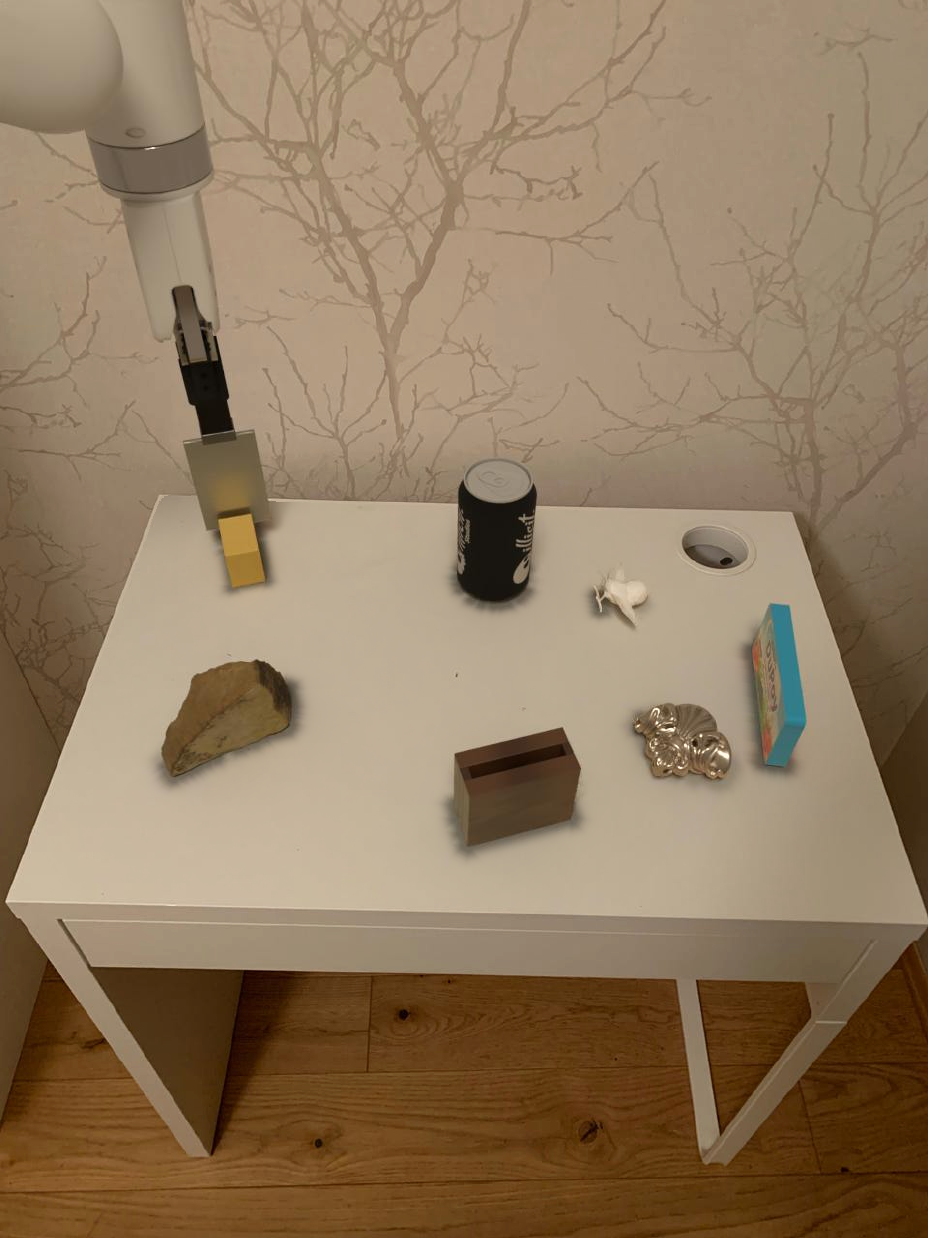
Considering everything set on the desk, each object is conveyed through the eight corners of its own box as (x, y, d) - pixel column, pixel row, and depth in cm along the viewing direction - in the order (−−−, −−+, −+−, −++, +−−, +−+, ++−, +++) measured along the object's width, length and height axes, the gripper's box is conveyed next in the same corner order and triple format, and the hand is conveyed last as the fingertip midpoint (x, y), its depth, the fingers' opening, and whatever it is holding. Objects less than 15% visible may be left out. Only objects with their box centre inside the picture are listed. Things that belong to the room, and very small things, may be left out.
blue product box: (783, 769, 71) (807, 722, 66) (764, 767, 71) (786, 720, 66) (769, 651, 79) (789, 602, 74) (751, 649, 79) (770, 600, 74)
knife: (207, 536, 83) (154, 342, 69) (205, 522, 85) (153, 328, 70) (273, 524, 85) (235, 330, 70) (269, 510, 86) (232, 317, 71)
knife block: (467, 847, 66) (469, 796, 61) (453, 805, 68) (454, 752, 63) (570, 820, 67) (581, 768, 62) (554, 779, 70) (562, 726, 64)
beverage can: (500, 617, 81) (507, 515, 72) (442, 584, 83) (442, 482, 74) (542, 575, 84) (553, 473, 75) (485, 545, 87) (489, 443, 78)
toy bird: (660, 631, 79) (649, 597, 76) (608, 646, 80) (595, 612, 77) (642, 566, 84) (632, 531, 81) (594, 580, 85) (581, 546, 82)
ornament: (608, 754, 71) (615, 727, 69) (655, 700, 75) (663, 673, 72) (698, 813, 68) (708, 787, 65) (742, 754, 71) (754, 727, 69)
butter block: (232, 588, 83) (224, 556, 80) (225, 551, 86) (218, 519, 83) (265, 581, 83) (259, 549, 80) (257, 545, 86) (251, 513, 83)
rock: (144, 797, 65) (281, 775, 65) (116, 683, 64) (256, 660, 64) (187, 746, 76) (305, 727, 76) (164, 647, 74) (284, 628, 74)
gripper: (90, 116, 64) (153, 347, 78) (97, 214, 54) (168, 459, 68) (198, 106, 66) (241, 334, 80) (224, 199, 56) (268, 442, 70)
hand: (207, 390), depth 74 cm, fingers closed on knife, 1 cm apart
